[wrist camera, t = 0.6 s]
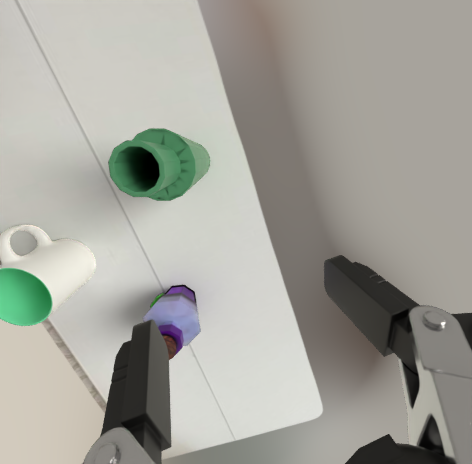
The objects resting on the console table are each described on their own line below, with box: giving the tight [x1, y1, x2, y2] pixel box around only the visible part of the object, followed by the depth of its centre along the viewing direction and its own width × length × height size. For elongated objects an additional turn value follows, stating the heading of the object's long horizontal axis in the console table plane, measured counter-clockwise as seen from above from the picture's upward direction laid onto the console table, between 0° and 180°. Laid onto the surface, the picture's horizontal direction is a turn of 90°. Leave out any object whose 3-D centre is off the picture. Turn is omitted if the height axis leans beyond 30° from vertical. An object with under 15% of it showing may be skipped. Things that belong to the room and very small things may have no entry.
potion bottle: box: [143, 285, 201, 360], centre depth 36 cm, size 9×9×12 cm
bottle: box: [108, 129, 210, 201], centre depth 24 cm, size 5×5×23 cm
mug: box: [0, 225, 96, 326], centre depth 33 cm, size 12×8×10 cm, turn 21°
